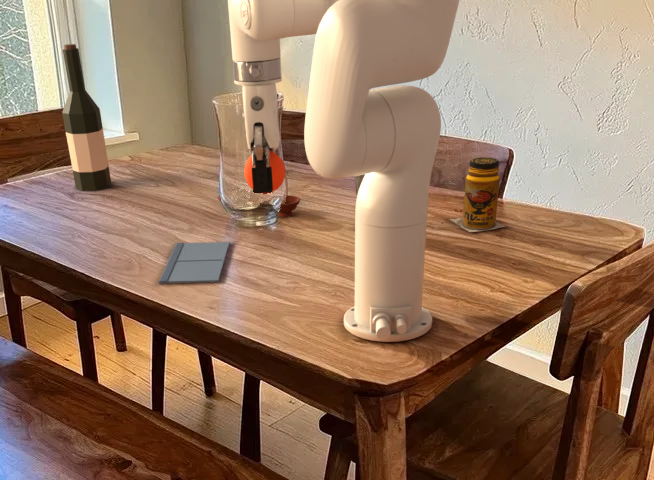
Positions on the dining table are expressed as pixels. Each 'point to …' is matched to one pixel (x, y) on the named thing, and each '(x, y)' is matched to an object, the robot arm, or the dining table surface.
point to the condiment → (481, 196)
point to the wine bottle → (84, 129)
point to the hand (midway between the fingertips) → (264, 185)
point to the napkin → (195, 263)
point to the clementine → (277, 171)
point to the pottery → (286, 206)
